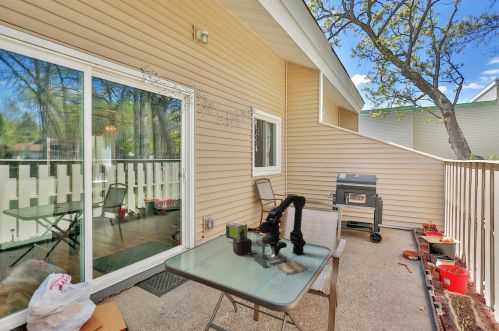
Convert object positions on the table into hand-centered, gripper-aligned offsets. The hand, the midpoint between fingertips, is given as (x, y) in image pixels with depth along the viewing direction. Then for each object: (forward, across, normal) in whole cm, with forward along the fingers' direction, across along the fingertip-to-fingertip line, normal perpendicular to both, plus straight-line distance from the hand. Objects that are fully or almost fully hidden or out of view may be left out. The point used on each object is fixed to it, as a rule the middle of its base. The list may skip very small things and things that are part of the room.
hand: (275, 255), depth 160 cm
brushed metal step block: (+3, 0, -2) cm, 3 cm away
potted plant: (+5, -23, -12) cm, 26 cm away
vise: (+4, -2, -2) cm, 5 cm away
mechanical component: (+5, -14, -1) cm, 15 cm away
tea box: (+5, -48, -7) cm, 49 cm away
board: (+4, +12, +4) cm, 13 cm away
